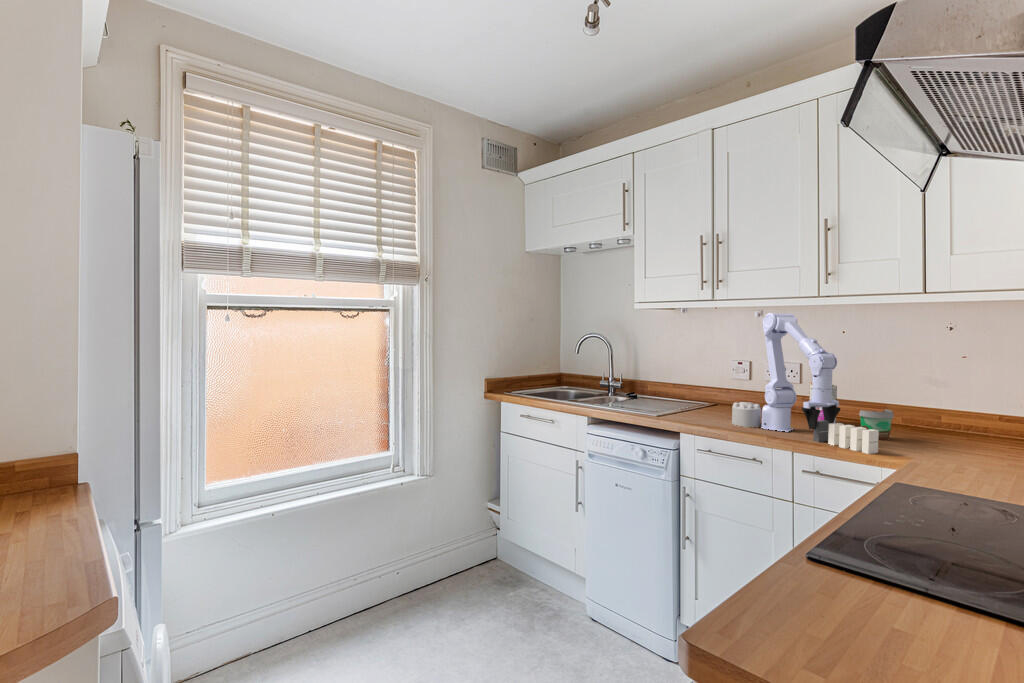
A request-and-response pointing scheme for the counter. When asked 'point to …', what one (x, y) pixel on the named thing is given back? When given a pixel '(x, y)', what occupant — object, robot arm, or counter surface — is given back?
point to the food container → (877, 422)
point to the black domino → (821, 431)
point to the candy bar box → (834, 397)
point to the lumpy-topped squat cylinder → (746, 414)
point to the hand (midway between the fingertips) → (820, 428)
